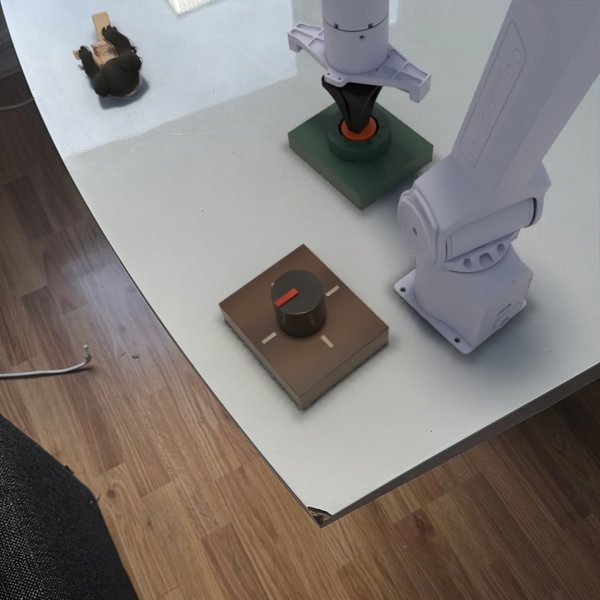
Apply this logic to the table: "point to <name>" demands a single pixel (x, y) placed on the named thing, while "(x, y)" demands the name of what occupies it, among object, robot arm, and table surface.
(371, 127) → the button
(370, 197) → the button box
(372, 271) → the table surface
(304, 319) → the knob
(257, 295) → the panel
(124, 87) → the toy figure
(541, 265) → the table surface
